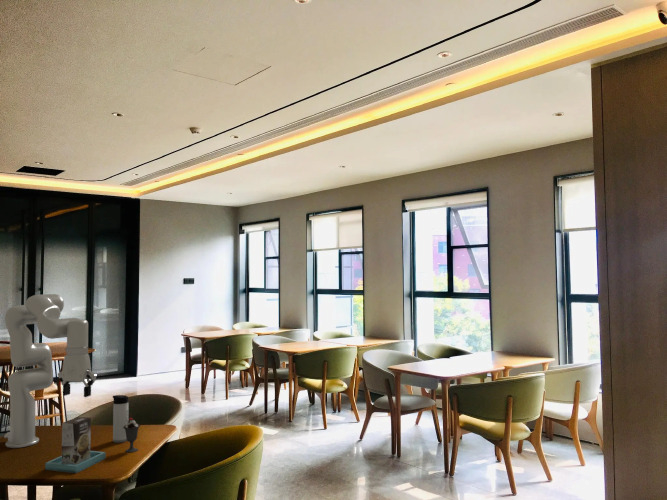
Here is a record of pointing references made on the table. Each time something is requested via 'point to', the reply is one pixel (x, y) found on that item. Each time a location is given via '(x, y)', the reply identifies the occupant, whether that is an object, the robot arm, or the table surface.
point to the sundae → (131, 433)
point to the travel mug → (120, 418)
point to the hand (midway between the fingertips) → (76, 395)
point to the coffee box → (76, 440)
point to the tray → (57, 465)
